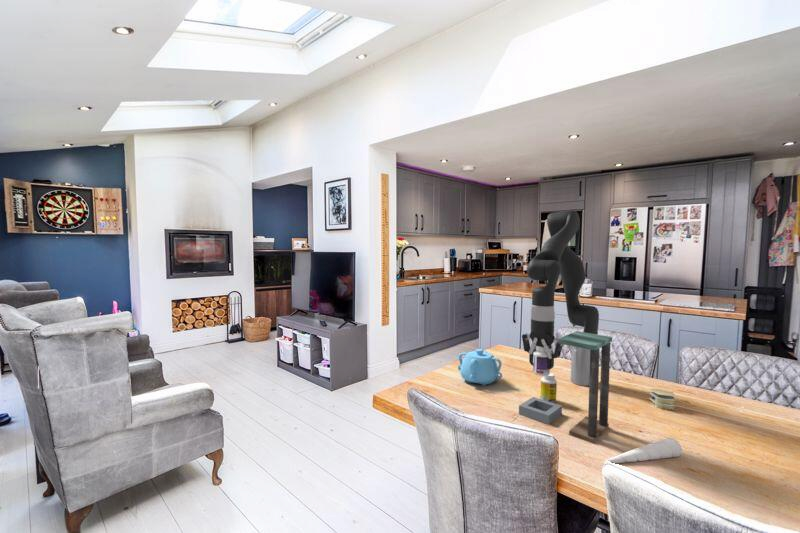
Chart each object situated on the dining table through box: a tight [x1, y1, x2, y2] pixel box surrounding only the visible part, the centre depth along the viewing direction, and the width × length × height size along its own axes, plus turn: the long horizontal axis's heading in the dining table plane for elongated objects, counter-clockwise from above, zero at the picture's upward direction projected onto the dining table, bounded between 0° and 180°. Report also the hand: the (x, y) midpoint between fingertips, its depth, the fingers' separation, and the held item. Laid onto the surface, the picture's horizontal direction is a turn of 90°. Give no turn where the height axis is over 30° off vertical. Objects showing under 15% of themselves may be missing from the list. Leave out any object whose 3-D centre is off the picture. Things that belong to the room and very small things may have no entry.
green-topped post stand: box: [557, 330, 613, 444], centre depth 117 cm, size 15×11×29 cm
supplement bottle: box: [539, 372, 558, 404], centre depth 139 cm, size 6×6×10 cm
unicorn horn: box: [602, 436, 683, 464], centre depth 102 cm, size 5×24×5 cm, turn 99°
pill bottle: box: [532, 346, 551, 377], centre depth 127 cm, size 5×5×10 cm
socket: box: [518, 396, 563, 425], centre depth 128 cm, size 10×10×3 cm
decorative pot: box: [457, 348, 503, 386], centre depth 160 cm, size 16×16×14 cm
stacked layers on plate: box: [649, 388, 676, 411], centre depth 135 cm, size 10×9×6 cm
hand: (541, 366), depth 127 cm, fingers closed on pill bottle, 5 cm apart
